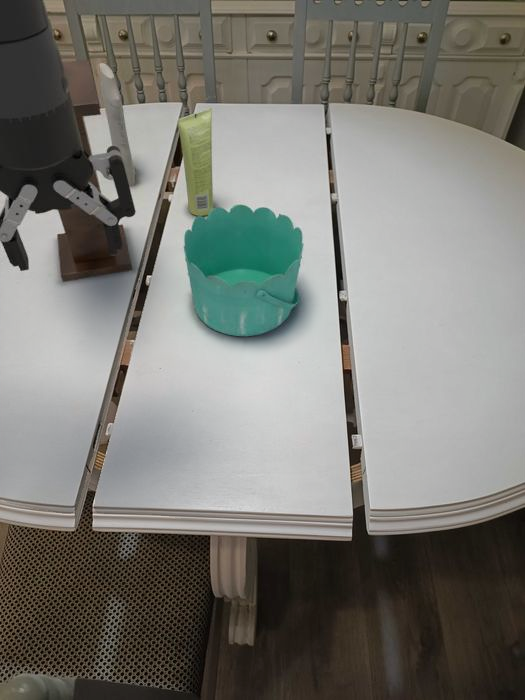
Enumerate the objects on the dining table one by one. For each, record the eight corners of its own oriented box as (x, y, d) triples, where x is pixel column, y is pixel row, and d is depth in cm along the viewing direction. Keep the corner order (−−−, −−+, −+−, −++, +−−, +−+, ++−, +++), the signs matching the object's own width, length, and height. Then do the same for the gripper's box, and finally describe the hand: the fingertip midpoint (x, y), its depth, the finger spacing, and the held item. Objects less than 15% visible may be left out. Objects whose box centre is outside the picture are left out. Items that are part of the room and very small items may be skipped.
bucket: (195, 263, 96) (189, 201, 86) (296, 265, 96) (301, 204, 87) (184, 341, 84) (176, 279, 74) (300, 344, 84) (307, 282, 74)
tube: (191, 200, 109) (183, 104, 95) (216, 202, 109) (211, 106, 94) (186, 216, 106) (177, 119, 91) (211, 218, 105) (206, 121, 91)
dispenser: (110, 164, 118) (88, 58, 101) (128, 161, 119) (109, 55, 102) (123, 189, 111) (102, 80, 95) (142, 184, 113) (124, 76, 96)
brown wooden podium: (65, 309, 88) (-5, 113, 63) (59, 240, 100) (-2, 53, 75) (138, 295, 90) (98, 102, 66) (124, 230, 102) (85, 46, 78)
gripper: (106, 64, 45) (135, 225, 57) (-79, 80, 42) (-6, 247, 54) (118, 103, 40) (147, 269, 52) (-90, 124, 37) (-7, 296, 49)
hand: (69, 258), depth 53 cm, fingers open, 8 cm apart
